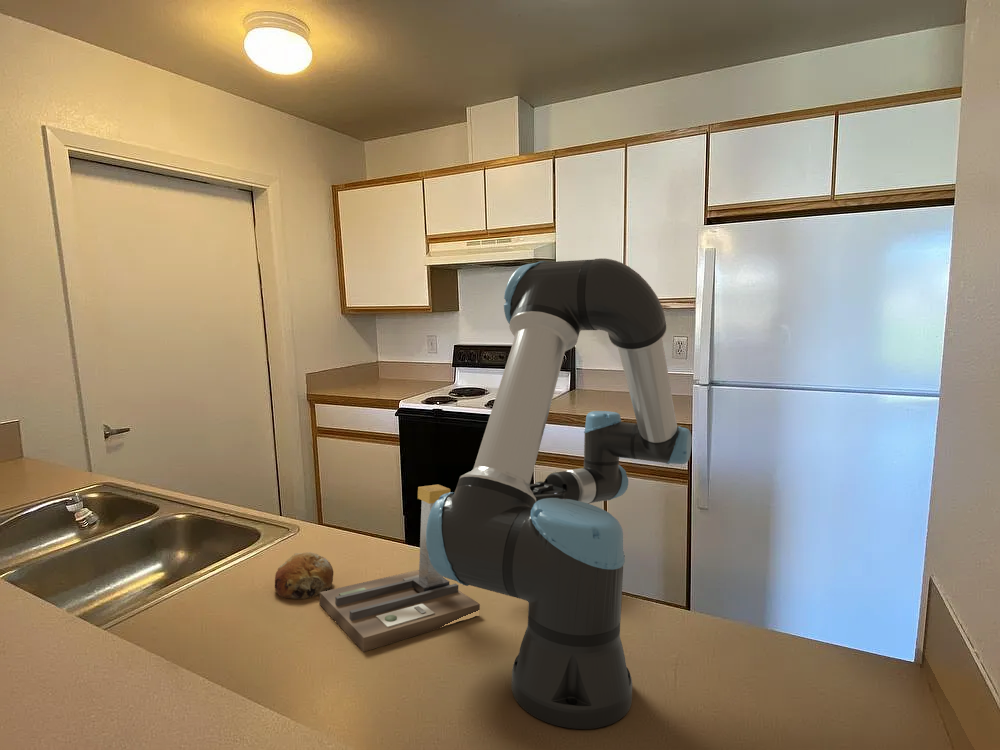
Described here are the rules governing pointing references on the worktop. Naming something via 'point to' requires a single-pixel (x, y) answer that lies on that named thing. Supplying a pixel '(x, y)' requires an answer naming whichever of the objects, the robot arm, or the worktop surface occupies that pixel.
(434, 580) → the lever
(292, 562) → the bread roll
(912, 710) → the worktop surface
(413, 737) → the worktop surface
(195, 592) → the worktop surface
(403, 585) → the switch board
